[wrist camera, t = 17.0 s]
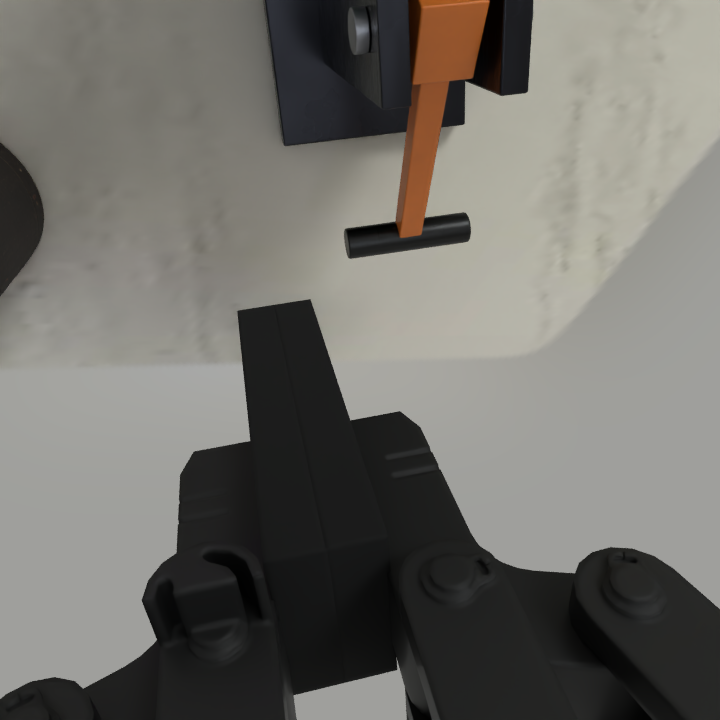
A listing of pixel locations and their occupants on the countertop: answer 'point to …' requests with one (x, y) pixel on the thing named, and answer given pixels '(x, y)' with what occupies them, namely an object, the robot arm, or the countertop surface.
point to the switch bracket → (375, 65)
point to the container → (17, 217)
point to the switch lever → (427, 126)
